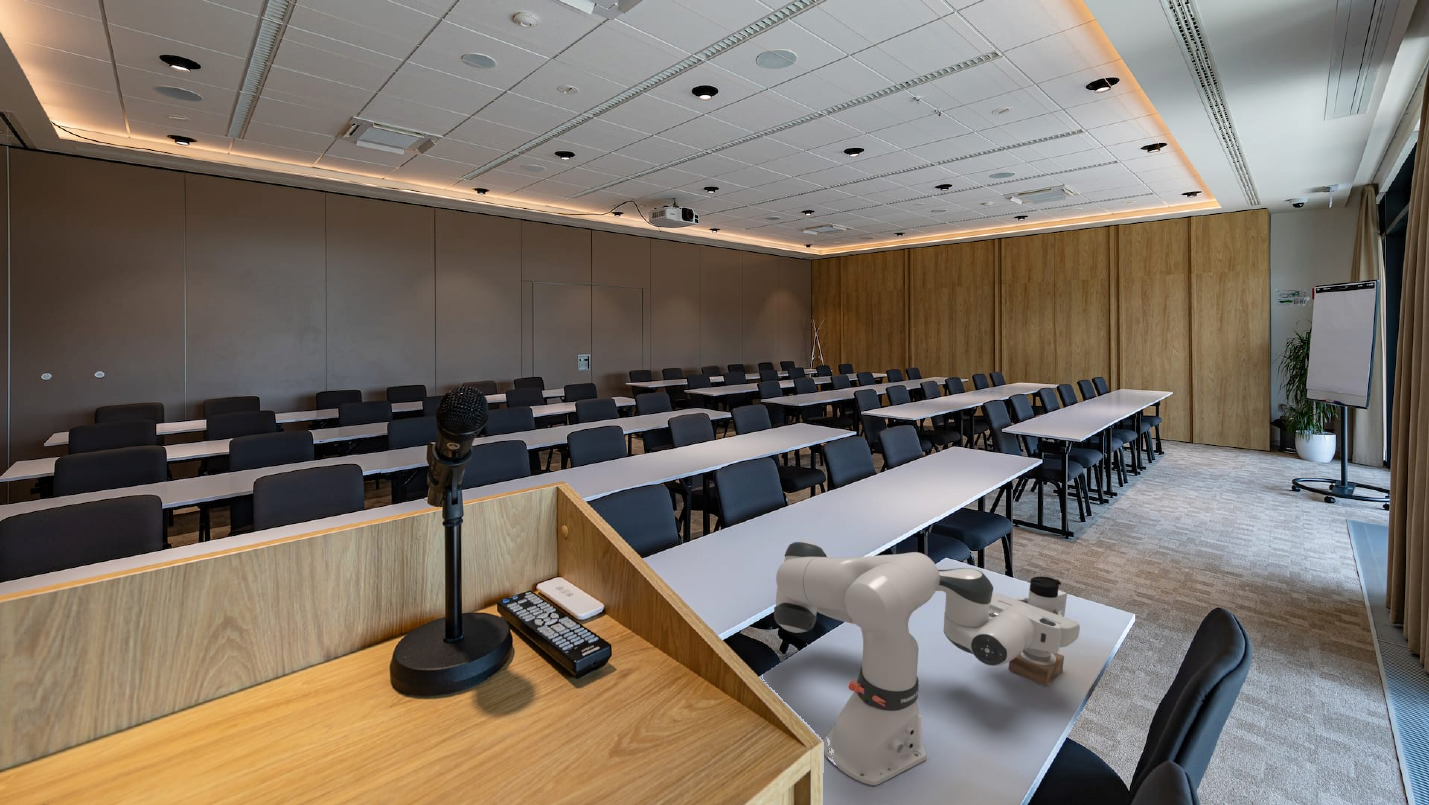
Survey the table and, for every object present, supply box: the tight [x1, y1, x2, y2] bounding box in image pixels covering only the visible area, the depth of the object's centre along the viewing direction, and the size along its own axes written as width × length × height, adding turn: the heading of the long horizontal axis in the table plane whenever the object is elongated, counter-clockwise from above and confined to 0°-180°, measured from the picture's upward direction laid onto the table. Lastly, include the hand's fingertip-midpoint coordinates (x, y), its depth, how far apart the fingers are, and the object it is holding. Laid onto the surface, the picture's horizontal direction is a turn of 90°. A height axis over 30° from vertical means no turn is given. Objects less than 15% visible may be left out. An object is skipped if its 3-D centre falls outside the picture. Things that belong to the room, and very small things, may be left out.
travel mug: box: [1023, 576, 1062, 661], centre depth 151 cm, size 6×7×20 cm
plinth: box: [1008, 651, 1065, 687], centre depth 153 cm, size 10×9×4 cm
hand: (1043, 606), depth 151 cm, fingers closed on travel mug, 6 cm apart
